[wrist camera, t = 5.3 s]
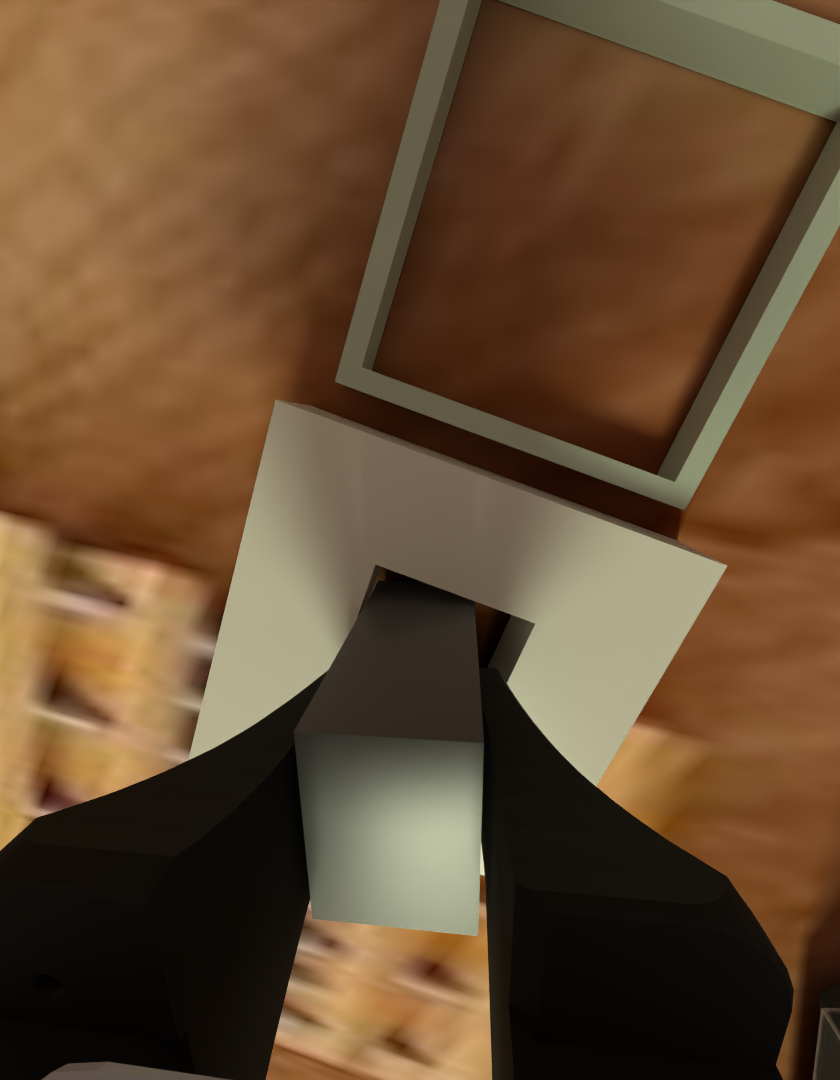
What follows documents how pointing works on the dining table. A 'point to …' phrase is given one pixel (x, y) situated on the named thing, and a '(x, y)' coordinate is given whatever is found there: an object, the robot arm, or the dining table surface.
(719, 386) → the pale green square frame
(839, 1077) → the voltmeter
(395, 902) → the plug
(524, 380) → the dining table surface
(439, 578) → the socket
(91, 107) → the dining table surface
